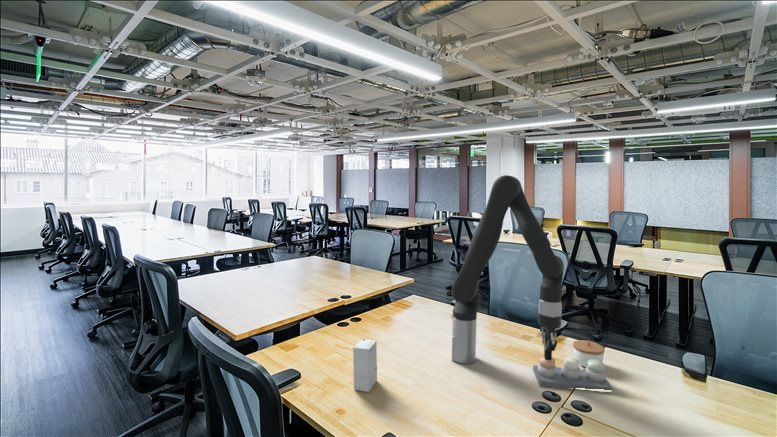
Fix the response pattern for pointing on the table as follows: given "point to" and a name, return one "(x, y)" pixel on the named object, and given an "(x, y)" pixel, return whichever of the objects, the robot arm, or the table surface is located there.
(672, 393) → the table surface
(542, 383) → the control board
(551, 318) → the robot arm
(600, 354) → the lidded jar
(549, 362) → the knob
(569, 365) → the knob mid
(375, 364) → the skincare box
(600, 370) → the knob
